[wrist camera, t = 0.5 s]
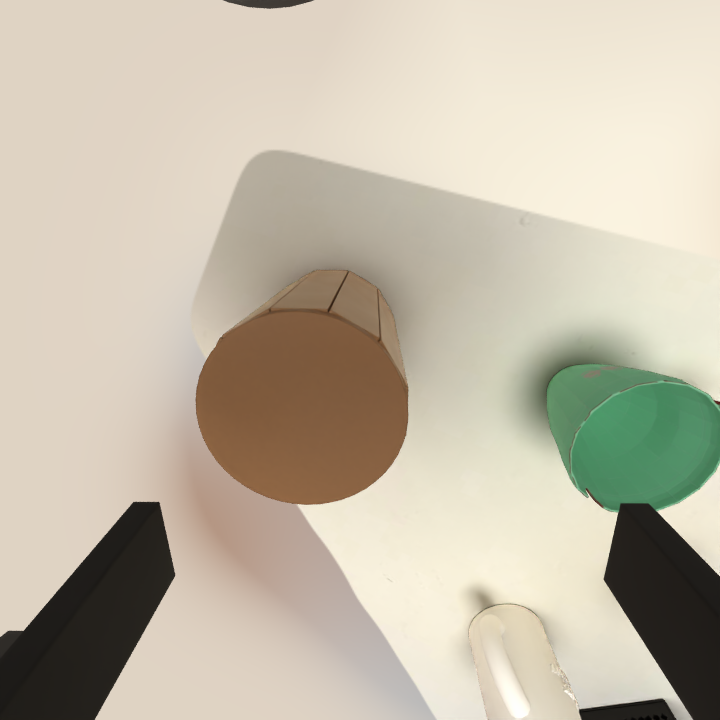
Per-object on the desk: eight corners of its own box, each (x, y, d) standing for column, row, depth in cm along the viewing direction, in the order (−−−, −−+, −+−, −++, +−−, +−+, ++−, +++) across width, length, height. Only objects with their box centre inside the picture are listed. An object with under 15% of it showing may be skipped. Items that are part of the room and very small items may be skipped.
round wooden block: (269, 269, 33) (181, 309, 18) (395, 270, 33) (413, 312, 18) (277, 385, 36) (207, 502, 21) (391, 387, 36) (403, 507, 21)
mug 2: (512, 440, 37) (559, 514, 28) (523, 337, 34) (581, 381, 25) (676, 440, 37) (780, 515, 27) (703, 335, 34) (832, 379, 24)
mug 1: (510, 566, 42) (560, 693, 31) (555, 640, 45) (616, 781, 34) (438, 595, 44) (461, 727, 32) (487, 665, 47) (523, 808, 35)
